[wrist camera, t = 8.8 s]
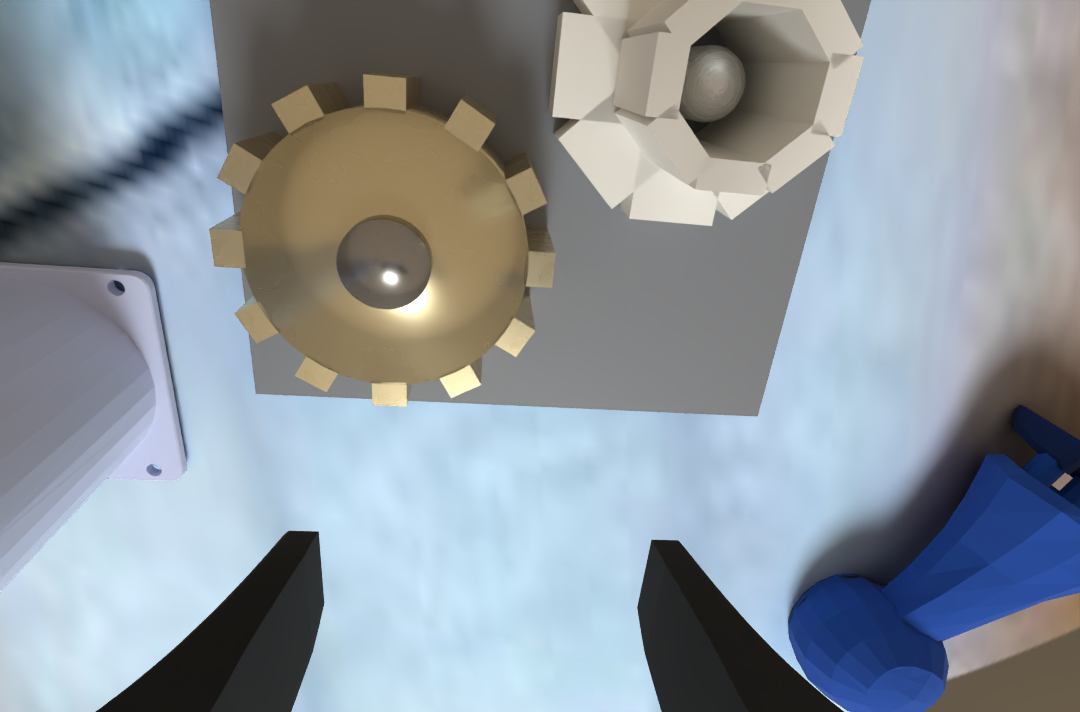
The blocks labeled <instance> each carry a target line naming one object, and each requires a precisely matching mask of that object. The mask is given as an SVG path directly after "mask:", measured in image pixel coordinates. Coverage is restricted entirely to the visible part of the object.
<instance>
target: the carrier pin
mask: <svg viewBox="0 0 1080 712" xmlns="http://www.w3.org/2000/svg"><path fill="white" fill-rule="evenodd" d="M744 88H745V72H744V68H743V65H742V63H741V61H740V60H739V58H738V57H737V56H736V55H735V54H734V53H733V52H732V51H730V50H729V49H727V48H725V47H722V46H717V45H706V46H695V47H690V53H689V58H688V64H687V69H686V74H685V80H684V85H683V91H682V96H681V102H680V107H679V112H680V113H681V115H682V116H683V118H686V119H690V120H693V121H697V122H713V121H716V120H719V119H721V118H723V117H725V116H726V115H728V114H729V113H730V112H731V111H732V110H733V109H734V108H735V107H736V106H737V104H738V103H739V101H740V99H741V97H742V95H743V92H744Z"/></svg>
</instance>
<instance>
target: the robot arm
mask: <svg viewBox="0 0 1080 712" xmlns="http://www.w3.org/2000/svg"><path fill="white" fill-rule="evenodd" d="M114 280H116V281H119V282H121V283H122V284H123V286H124V288H125V292H123V291H120V290H118V289H117V288H116V286H115V284H114ZM152 464H155V465H158V466H159V467H160V468H161V470H159V469H156V468H155V467H153V465H152ZM186 470H187V463H186V457H185V452H184V446H183V441H182V435H181V429H180V424H179V418H178V413H177V407H176V402H175V396H174V391H173V385H172V380H171V374H170V369H169V363H168V358H167V352H166V346H165V341H164V335H163V330H162V324H161V319H160V313H159V308H158V302H157V297H156V291H155V286H154V284H153V281H152V280H151V279H150V277H149V276H148V275H146V274H144V273H143V272H139V271H134V270H118V269H102V268H86V267H70V266H54V265H38V264H22V263H6V262H0V592H1V591H2V590H3V589H4V588H5V587H6V586H7V585H8V584H9V583H10V582H11V581H12V580H13V579H14V577H15V576H16V575H17V574H18V573H19V572H20V571H21V570H22V569H23V568H24V567H25V566H26V565H27V564H28V562H29V561H30V560H31V559H32V558H33V557H34V556H35V555H36V554H37V553H38V552H39V551H40V550H41V549H42V548H43V546H44V545H45V544H46V543H47V542H48V541H49V540H50V539H51V538H52V537H53V536H54V535H55V534H56V533H57V532H58V530H59V529H60V528H61V527H62V526H63V525H64V524H65V523H66V522H67V521H68V520H69V519H70V518H71V517H72V516H73V514H74V513H75V512H76V511H77V510H78V509H79V508H80V507H81V506H82V505H83V504H84V503H85V502H86V501H87V500H88V498H89V497H90V496H91V495H92V494H93V493H94V492H95V491H96V490H97V489H98V488H99V487H100V486H101V485H102V484H103V482H104V481H105V480H106V479H123V480H155V481H175V480H178V479H180V478H181V477H182V476H183V474H184V473H185V472H186ZM323 606H324V595H323V582H322V570H321V557H320V544H319V532H312V531H288V532H287V533H286V534H285V535H283V537H282V538H281V539H280V540H279V541H278V542H277V543H276V545H275V546H274V547H273V548H272V549H271V550H270V551H269V553H268V554H267V555H266V556H265V557H264V558H263V559H262V561H261V562H260V563H259V564H258V565H257V566H256V567H255V568H254V569H253V570H252V572H251V573H250V574H249V575H248V576H247V577H246V578H245V579H244V580H243V581H242V582H241V583H240V584H239V586H238V587H237V588H236V589H235V590H234V591H233V592H232V593H231V594H230V595H229V596H228V597H227V598H226V599H225V600H224V601H223V602H222V603H221V604H220V605H219V606H218V607H217V608H216V609H215V610H214V611H213V612H212V613H211V614H210V615H209V616H208V617H207V618H206V619H205V620H204V621H203V622H202V623H201V624H200V625H199V626H198V627H197V628H196V629H194V630H193V631H192V632H191V633H190V634H189V635H188V636H187V637H186V638H185V639H184V640H183V641H182V642H181V643H180V644H179V645H177V646H176V647H175V648H174V649H173V650H172V651H171V652H170V653H168V654H167V655H166V656H165V657H164V658H163V659H162V660H160V661H159V662H158V663H157V664H156V665H155V666H153V667H152V668H151V669H150V670H149V671H147V672H146V673H145V674H144V675H143V676H141V677H140V678H139V679H138V680H136V681H135V682H134V683H133V684H132V685H130V686H129V687H128V688H126V689H125V690H124V691H122V692H121V693H120V694H119V695H117V696H116V697H115V698H113V699H112V700H111V701H109V702H108V703H107V704H106V705H104V706H103V707H102V708H100V709H99V710H97V711H96V712H291V711H292V708H293V705H294V702H295V700H296V697H297V694H298V691H299V689H300V686H301V683H302V680H303V677H304V675H305V672H306V669H307V666H308V664H309V661H310V658H311V655H312V652H313V648H314V644H315V640H316V636H317V632H318V628H319V624H320V619H321V615H322V611H323ZM637 609H638V615H639V621H640V628H641V634H642V640H643V645H644V651H645V655H646V659H647V663H648V666H649V670H650V673H651V677H652V680H653V684H654V687H655V691H656V694H657V697H658V701H659V704H660V708H661V711H662V712H844V711H842V710H841V709H840V708H839V707H837V706H836V705H835V704H833V703H832V702H831V701H830V700H829V699H827V698H826V697H825V696H824V695H823V694H821V693H820V692H819V691H818V690H817V689H816V688H814V687H813V686H812V685H811V684H810V683H809V682H808V681H807V680H805V679H804V678H803V677H802V676H801V675H800V674H799V673H798V672H797V671H795V670H794V669H793V668H792V667H791V666H790V665H789V664H788V663H787V662H786V661H785V660H784V659H783V658H781V657H780V656H779V655H778V654H777V653H776V652H775V651H774V650H773V649H772V648H771V647H770V646H769V645H768V644H767V643H766V642H765V640H764V639H763V638H762V637H761V636H760V635H759V634H758V633H757V632H756V631H755V630H754V629H753V628H752V627H751V626H750V625H749V624H748V623H747V621H746V620H745V619H744V618H743V617H742V616H741V615H740V614H739V612H738V611H737V610H736V609H735V608H734V607H733V606H732V604H731V603H730V602H729V601H728V600H727V599H726V598H725V596H724V595H723V594H722V593H721V592H720V591H719V589H718V588H717V587H716V586H715V585H714V583H713V582H712V581H711V580H710V579H709V577H708V576H707V575H706V574H705V572H704V571H703V570H702V569H701V568H700V566H699V565H698V564H697V563H696V561H695V560H694V559H693V558H692V556H691V555H690V554H689V553H688V551H687V550H686V549H685V548H684V547H683V545H682V544H681V543H680V542H679V541H676V540H652V541H651V545H650V550H649V555H648V560H647V564H646V569H645V574H644V579H643V583H642V588H641V593H640V598H639V602H638V607H637Z"/></svg>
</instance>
